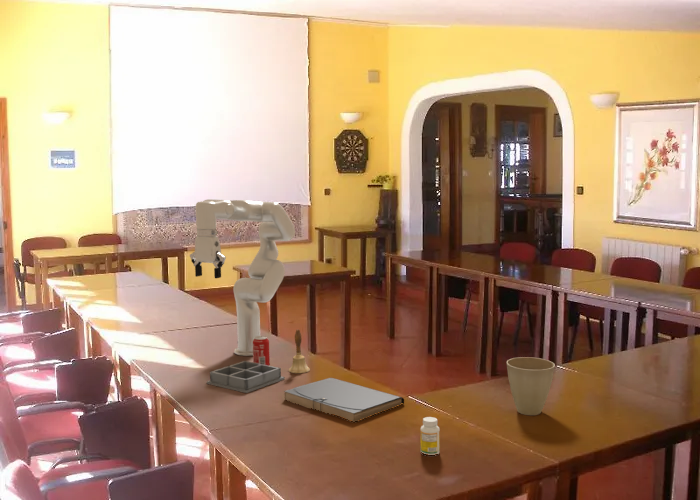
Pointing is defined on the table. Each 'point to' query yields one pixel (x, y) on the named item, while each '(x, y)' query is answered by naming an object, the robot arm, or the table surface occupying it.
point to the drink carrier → (245, 376)
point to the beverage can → (261, 350)
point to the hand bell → (298, 357)
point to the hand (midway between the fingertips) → (208, 276)
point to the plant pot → (530, 383)
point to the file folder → (342, 398)
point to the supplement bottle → (430, 436)
